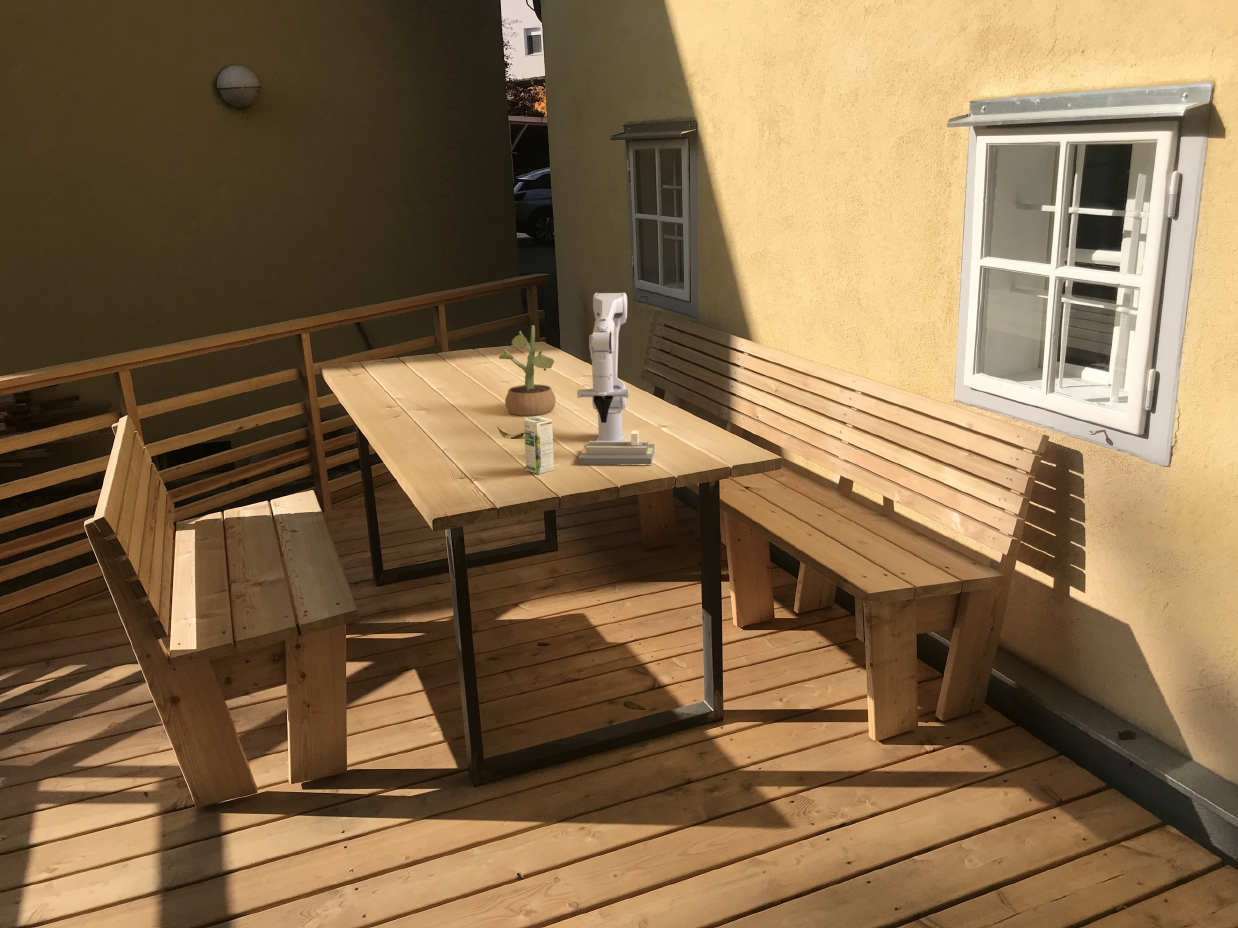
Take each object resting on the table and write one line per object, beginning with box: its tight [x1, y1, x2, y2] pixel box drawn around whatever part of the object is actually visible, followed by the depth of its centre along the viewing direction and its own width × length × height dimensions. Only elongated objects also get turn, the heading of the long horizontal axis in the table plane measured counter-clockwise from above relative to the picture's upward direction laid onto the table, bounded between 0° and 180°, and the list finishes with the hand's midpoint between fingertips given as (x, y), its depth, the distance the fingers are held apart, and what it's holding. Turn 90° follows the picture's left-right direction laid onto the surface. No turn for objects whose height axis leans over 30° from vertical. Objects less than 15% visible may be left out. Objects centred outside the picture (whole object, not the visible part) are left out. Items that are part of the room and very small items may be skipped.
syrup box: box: [523, 415, 555, 475], centre depth 267 cm, size 6×6×14 cm
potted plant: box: [498, 325, 557, 417], centre depth 326 cm, size 22×18×30 cm
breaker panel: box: [578, 440, 655, 466], centre depth 277 cm, size 14×20×4 cm
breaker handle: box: [627, 429, 643, 446], centre depth 276 cm, size 3×4×5 cm
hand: (604, 421), depth 279 cm, fingers closed
